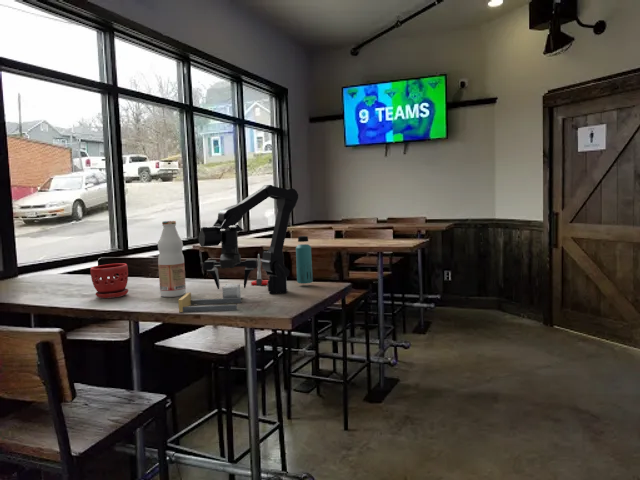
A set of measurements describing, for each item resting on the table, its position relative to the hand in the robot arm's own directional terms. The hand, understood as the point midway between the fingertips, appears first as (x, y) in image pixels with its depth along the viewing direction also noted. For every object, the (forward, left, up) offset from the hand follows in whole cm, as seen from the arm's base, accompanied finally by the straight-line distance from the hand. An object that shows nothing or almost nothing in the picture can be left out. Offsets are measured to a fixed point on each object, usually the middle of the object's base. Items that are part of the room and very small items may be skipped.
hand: (231, 288), depth 178 cm
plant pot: (+48, -15, -4) cm, 51 cm away
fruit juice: (+24, -13, -4) cm, 28 cm away
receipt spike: (-8, -32, -4) cm, 33 cm away
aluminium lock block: (0, 0, -4) cm, 4 cm away
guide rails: (+5, +12, -4) cm, 14 cm away
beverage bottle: (-26, -22, -4) cm, 34 cm away
